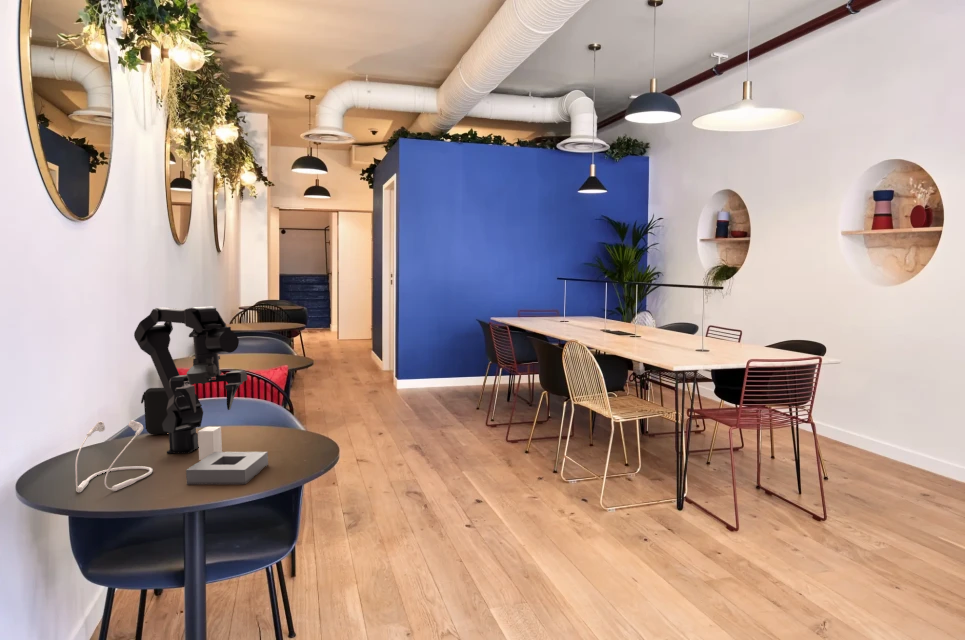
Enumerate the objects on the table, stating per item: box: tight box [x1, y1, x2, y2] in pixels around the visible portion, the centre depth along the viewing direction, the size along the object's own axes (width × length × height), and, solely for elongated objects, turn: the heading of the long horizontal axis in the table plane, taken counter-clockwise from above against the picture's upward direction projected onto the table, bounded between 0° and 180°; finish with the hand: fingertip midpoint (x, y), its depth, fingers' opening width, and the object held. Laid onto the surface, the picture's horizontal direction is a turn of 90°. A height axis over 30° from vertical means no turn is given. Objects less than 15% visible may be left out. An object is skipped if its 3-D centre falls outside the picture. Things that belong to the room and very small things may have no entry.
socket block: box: [185, 451, 269, 485], centre depth 157 cm, size 14×15×4 cm
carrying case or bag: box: [140, 387, 169, 435], centre depth 197 cm, size 11×3×15 cm, turn 96°
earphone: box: [74, 419, 154, 493], centre depth 154 cm, size 14×17×18 cm
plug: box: [197, 426, 223, 461], centre depth 172 cm, size 4×6×8 cm, turn 179°
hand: (211, 411), depth 171 cm, fingers open, 9 cm apart
